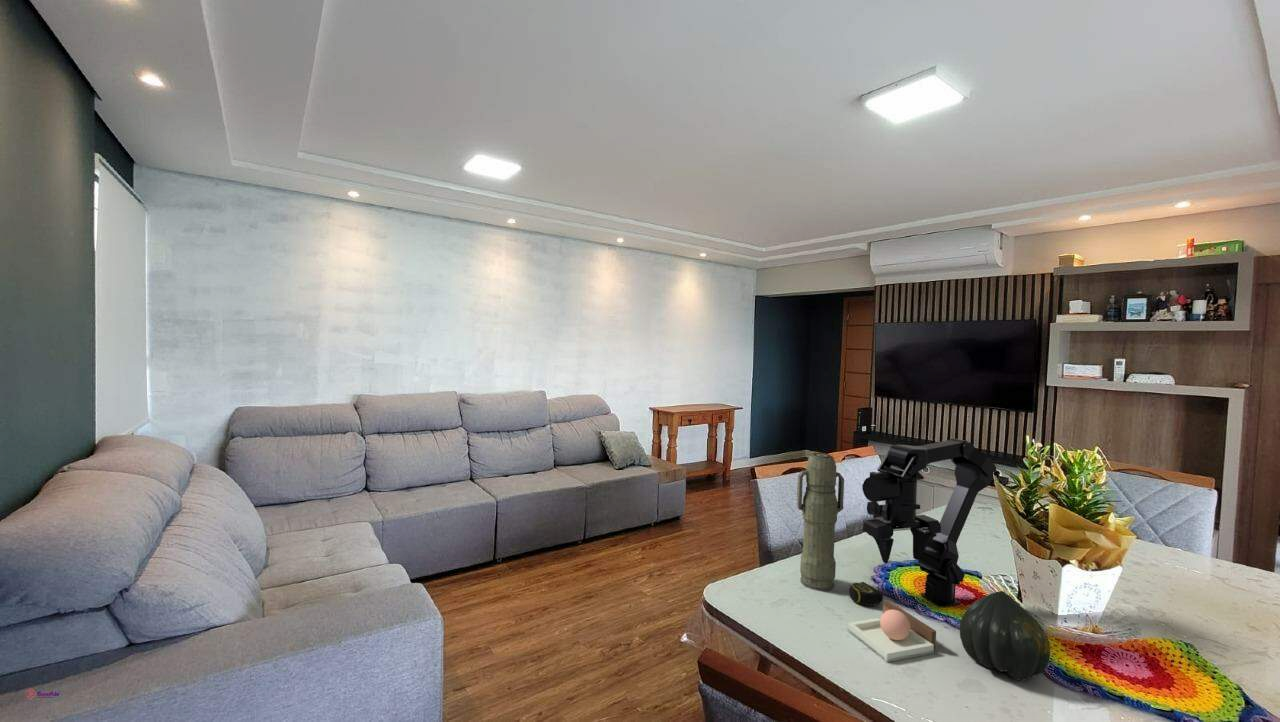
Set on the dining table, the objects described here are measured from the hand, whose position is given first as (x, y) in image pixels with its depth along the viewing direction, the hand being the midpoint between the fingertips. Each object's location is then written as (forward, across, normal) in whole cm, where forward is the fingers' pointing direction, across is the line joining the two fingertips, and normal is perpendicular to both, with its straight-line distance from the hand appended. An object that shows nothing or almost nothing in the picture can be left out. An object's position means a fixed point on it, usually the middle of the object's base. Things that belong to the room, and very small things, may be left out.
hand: (900, 560), depth 128 cm
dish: (+12, +13, +11) cm, 21 cm away
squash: (+12, -3, +24) cm, 27 cm away
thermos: (+12, +11, -17) cm, 24 cm away
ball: (+11, +13, +11) cm, 20 cm away
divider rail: (+12, +6, +9) cm, 16 cm away
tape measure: (+12, +5, -6) cm, 15 cm away
